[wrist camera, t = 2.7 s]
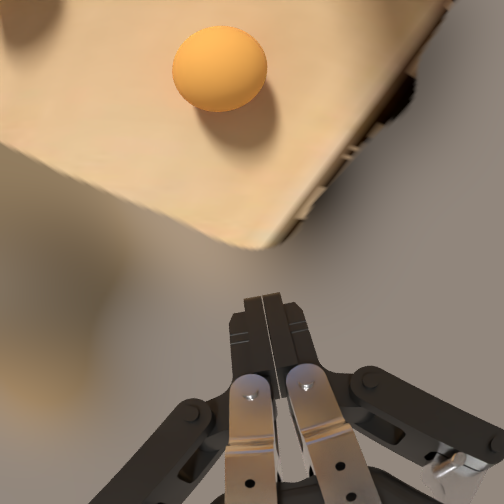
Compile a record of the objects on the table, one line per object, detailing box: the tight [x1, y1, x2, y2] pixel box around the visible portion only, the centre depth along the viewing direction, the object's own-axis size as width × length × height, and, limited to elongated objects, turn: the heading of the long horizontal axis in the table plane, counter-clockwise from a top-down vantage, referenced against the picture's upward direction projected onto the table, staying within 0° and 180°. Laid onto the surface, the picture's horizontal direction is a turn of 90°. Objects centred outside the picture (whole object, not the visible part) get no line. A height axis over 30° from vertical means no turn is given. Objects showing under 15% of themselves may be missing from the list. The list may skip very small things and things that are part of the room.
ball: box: [172, 26, 267, 112], centre depth 15 cm, size 6×6×6 cm
